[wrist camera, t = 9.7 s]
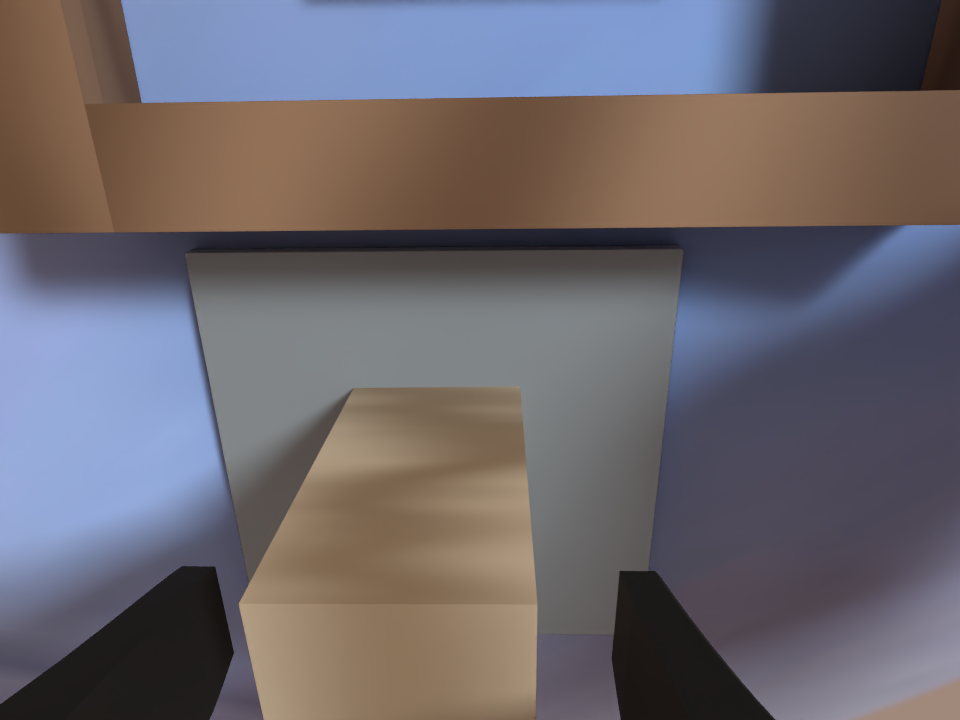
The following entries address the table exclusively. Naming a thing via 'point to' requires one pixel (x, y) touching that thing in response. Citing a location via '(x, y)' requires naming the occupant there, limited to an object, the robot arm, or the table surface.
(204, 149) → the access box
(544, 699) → the table surface
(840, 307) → the table surface
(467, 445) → the beech block
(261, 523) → the place mat
